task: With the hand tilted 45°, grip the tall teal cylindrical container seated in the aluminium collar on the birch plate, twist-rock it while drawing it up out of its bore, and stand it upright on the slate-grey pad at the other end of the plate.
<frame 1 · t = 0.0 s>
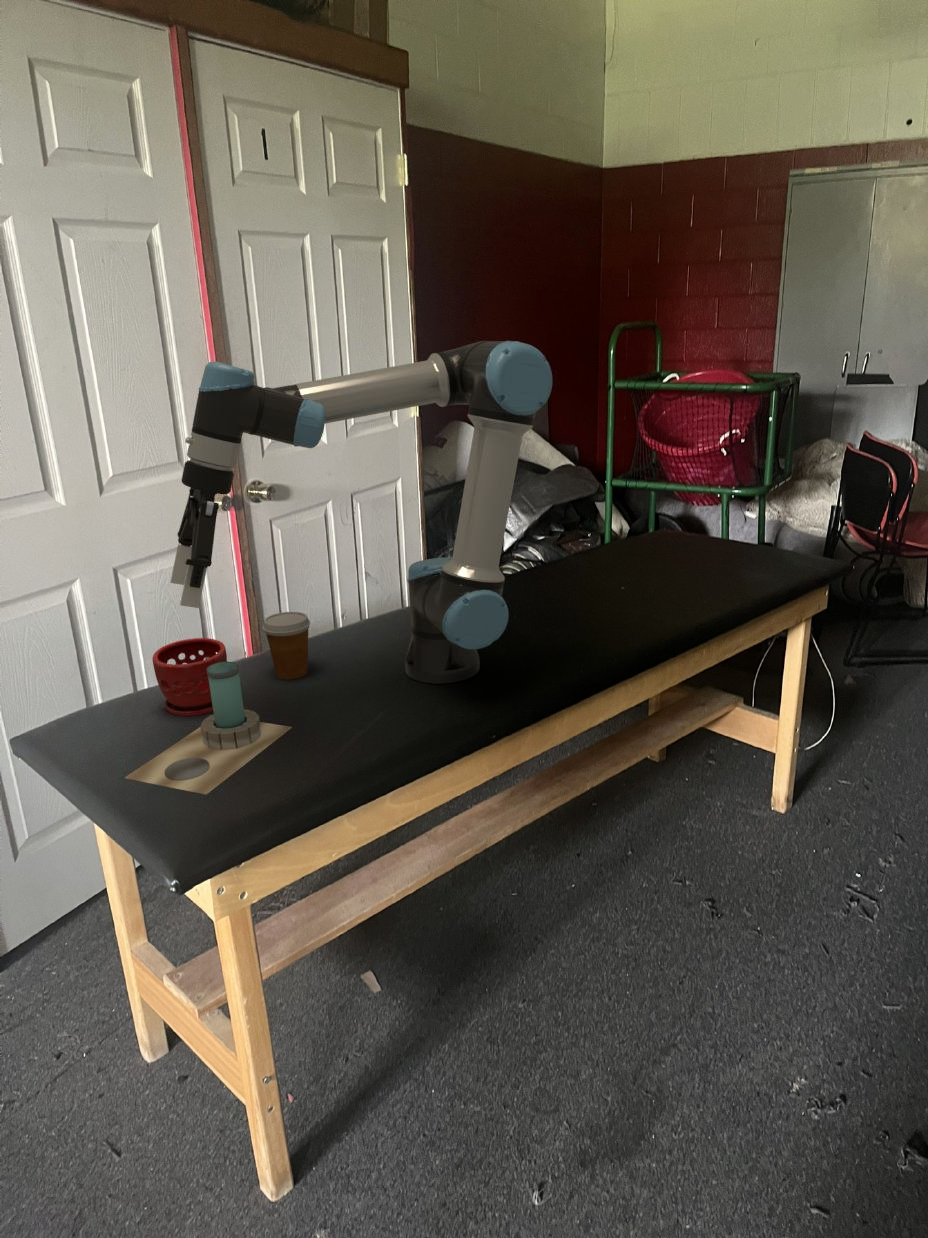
hand: (183, 594, 142), 28 cm above the table, tool tilted 20°, fingers open, 13 cm apart
plant pot: (198, 709, 167), on the table
disposable coffee cup: (292, 674, 181), on the table
teal cylindrical container: (232, 736, 153), point 1 cm above the table, touching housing
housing: (213, 756, 148), on the table
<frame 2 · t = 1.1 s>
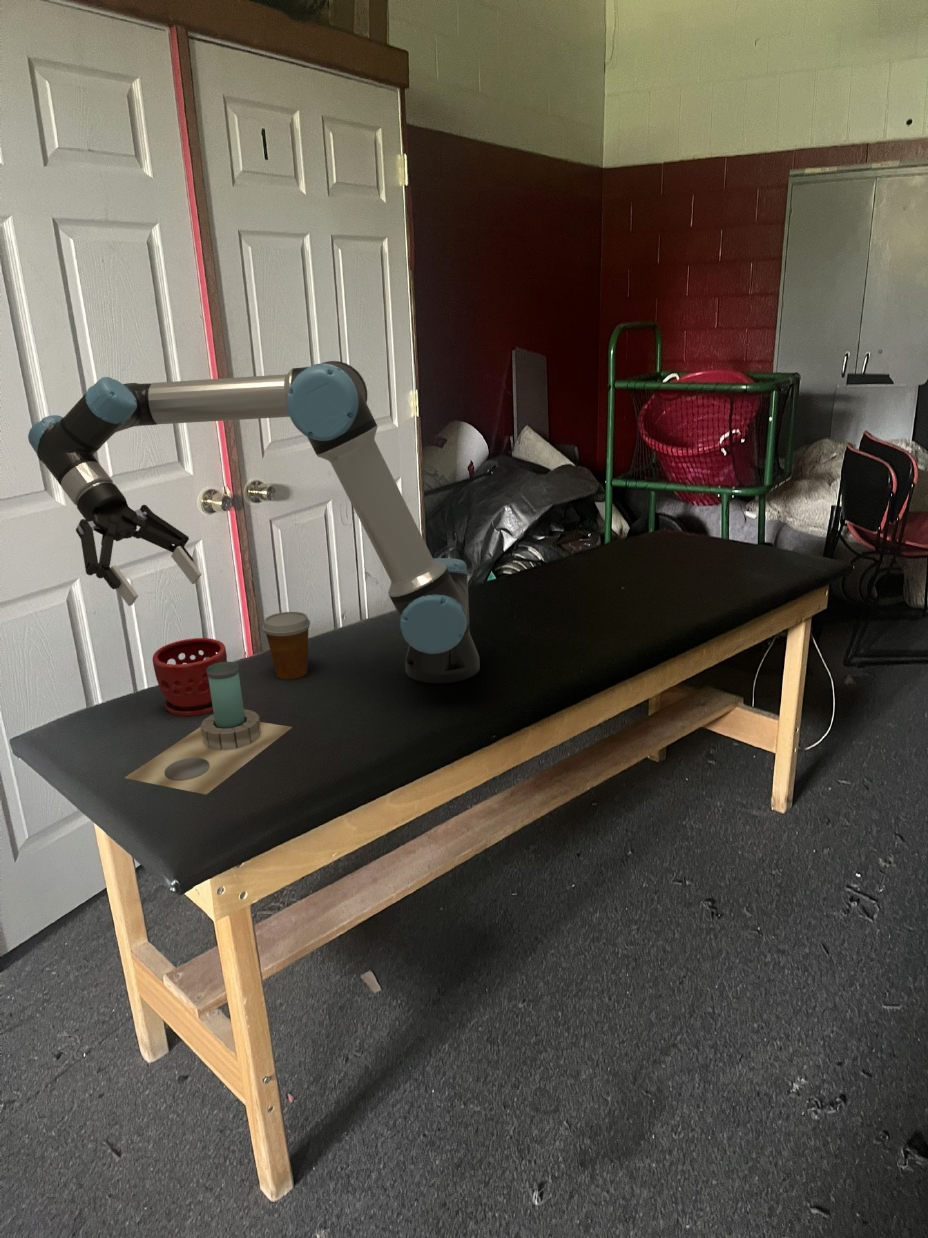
hand: (166, 589, 150), 26 cm above the table, tool tilted 45°, fingers open, 13 cm apart
nothing on the table moved.
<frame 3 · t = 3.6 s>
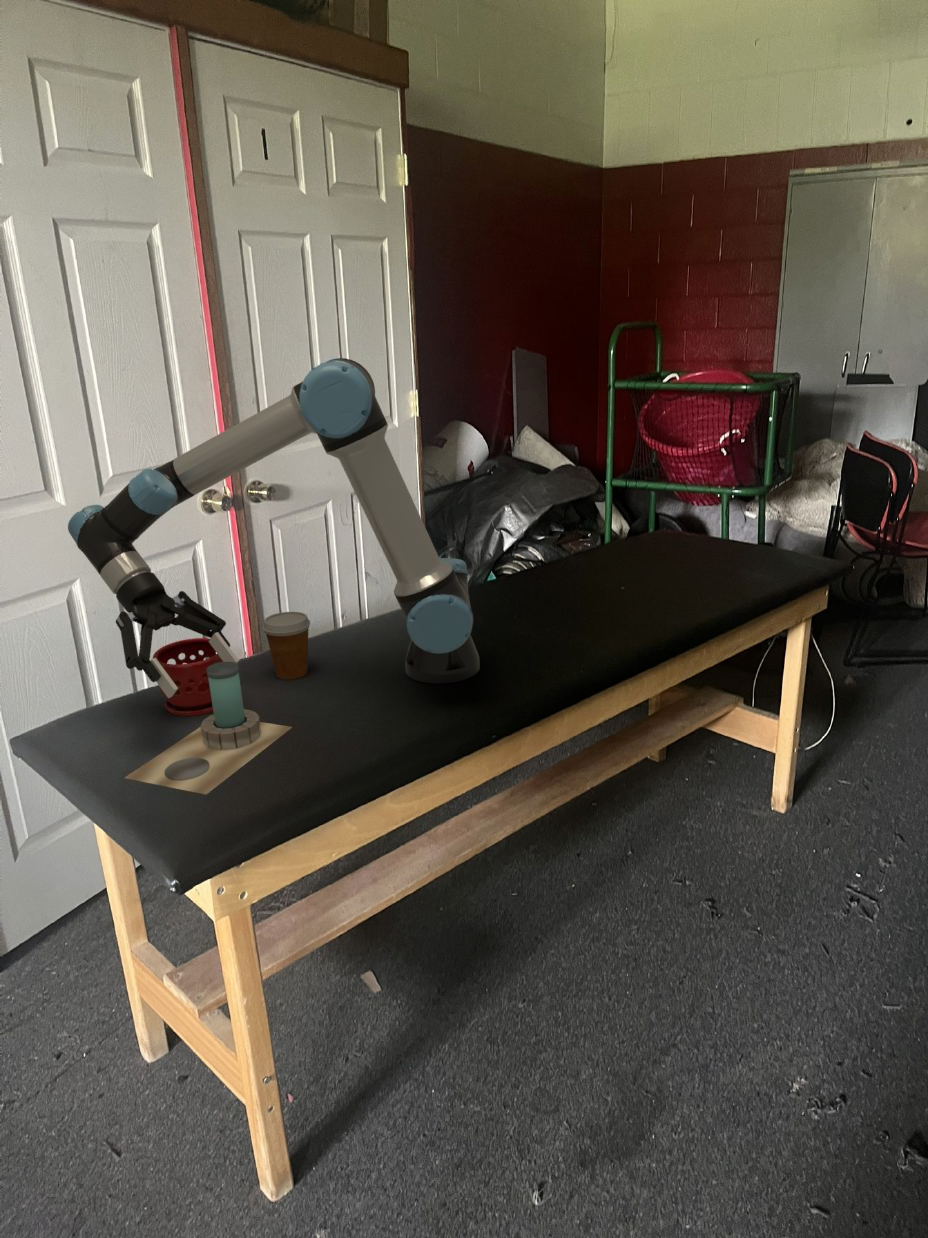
hand: (205, 679, 151), 11 cm above the table, tool tilted 45°, fingers open, 13 cm apart
nothing on the table moved.
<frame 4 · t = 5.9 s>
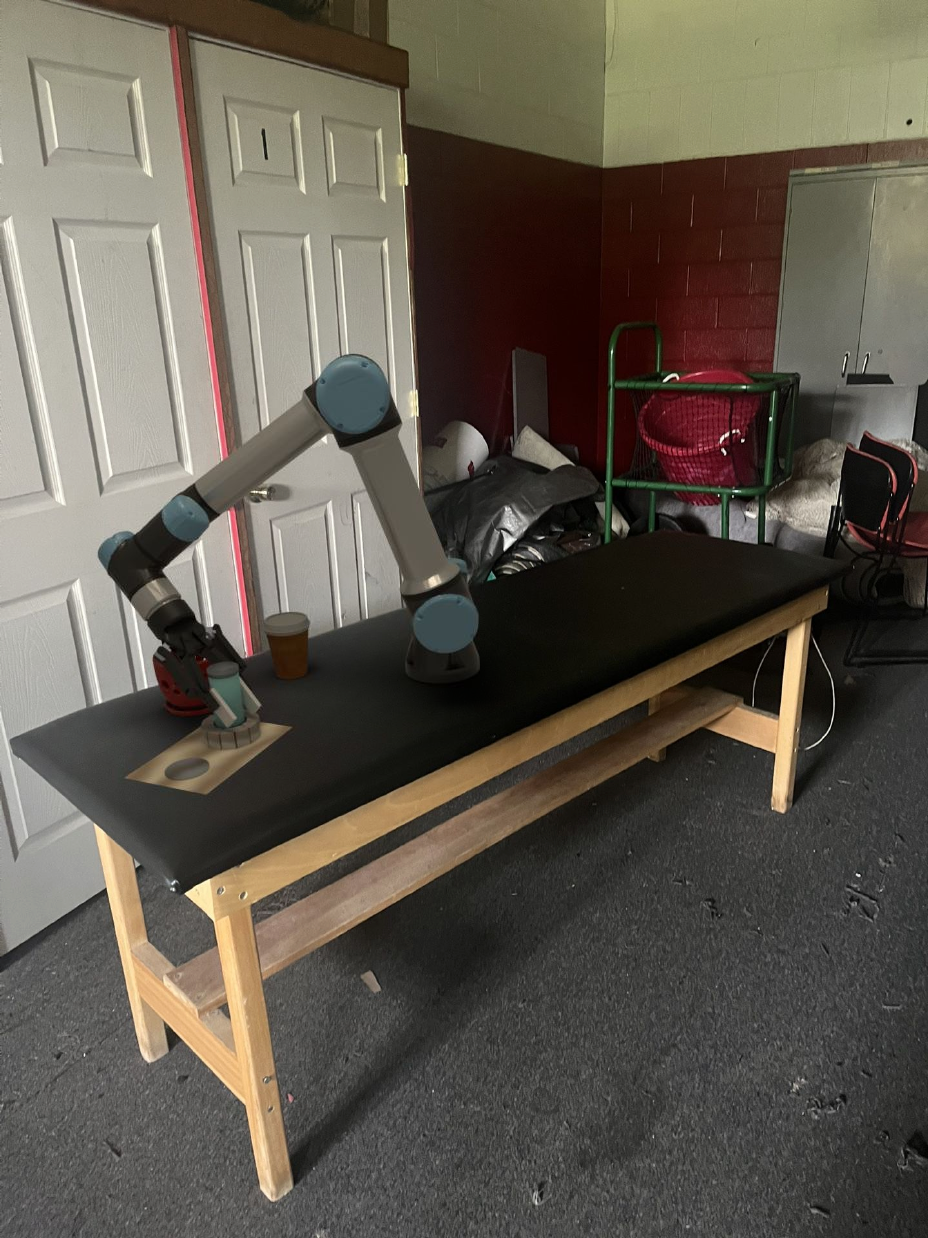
hand: (244, 716, 149), 6 cm above the table, tool tilted 45°, fingers closed on teal cylindrical container, 5 cm apart
teal cylindrical container: (232, 736, 153), point 1 cm above the table, touching gripper, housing
everything else where it was.
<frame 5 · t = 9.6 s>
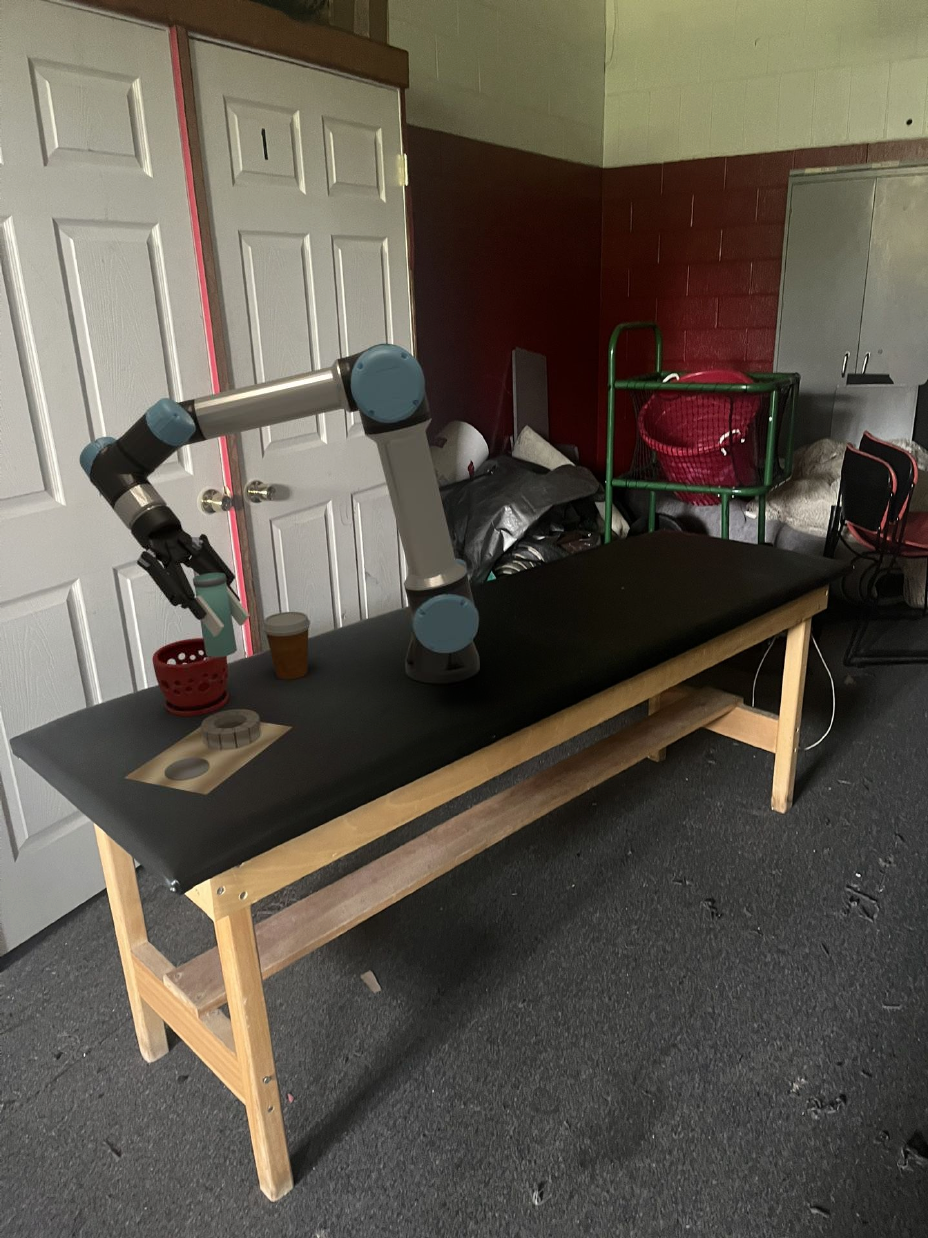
hand: (232, 625, 144), 22 cm above the table, tool tilted 45°, fingers closed on teal cylindrical container, 5 cm apart
teal cylindrical container: (221, 651, 147), point 17 cm above the table, touching gripper
everything else where it was.
when the fingers open (8 cm above the table, at t = 13.6 s): teal cylindrical container drops 1 cm, resting on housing.
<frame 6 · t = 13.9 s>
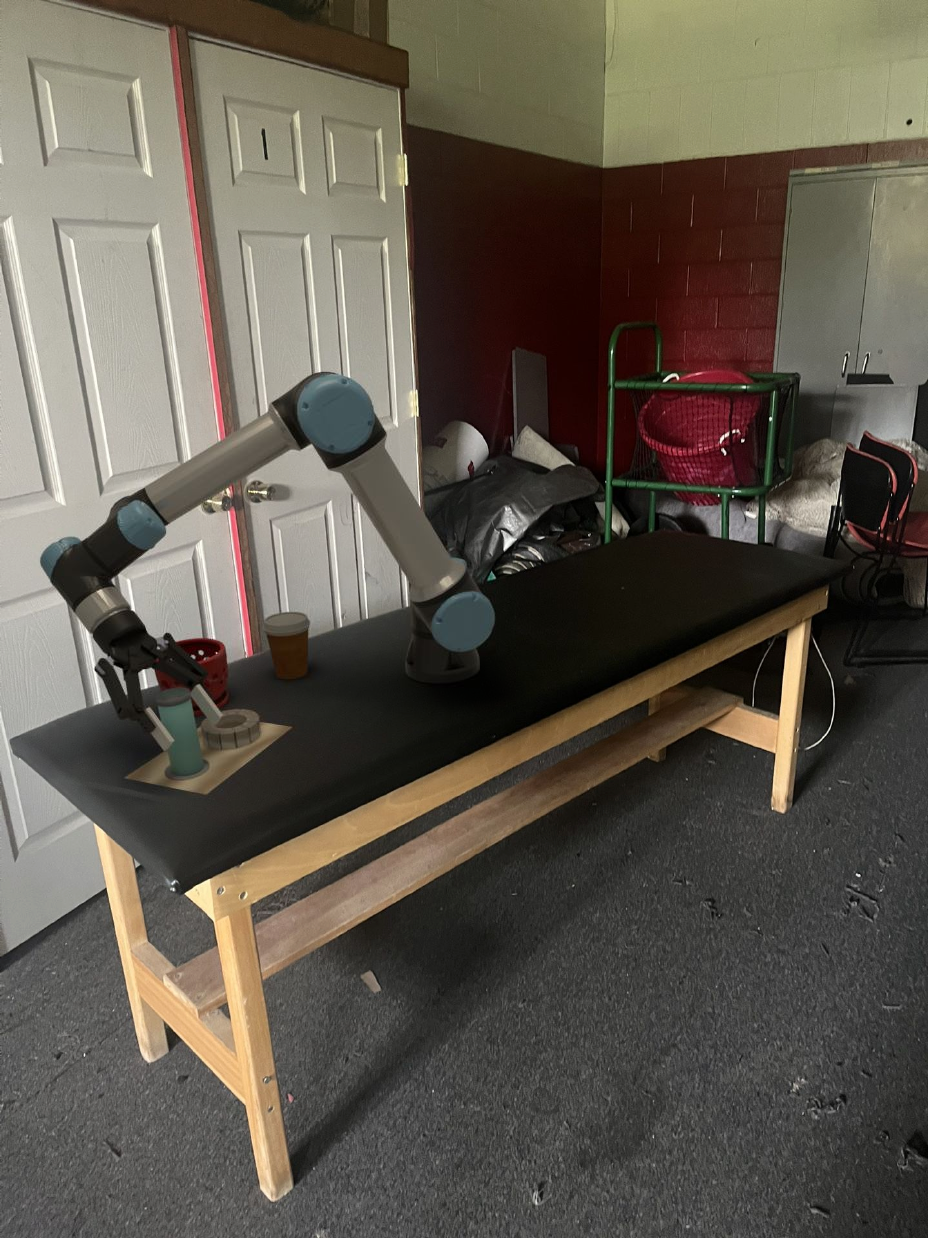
hand: (194, 732, 138), 8 cm above the table, tool tilted 45°, fingers open, 9 cm apart
teal cylindrical container: (188, 768, 142), point 1 cm above the table, touching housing
everything else where it was.
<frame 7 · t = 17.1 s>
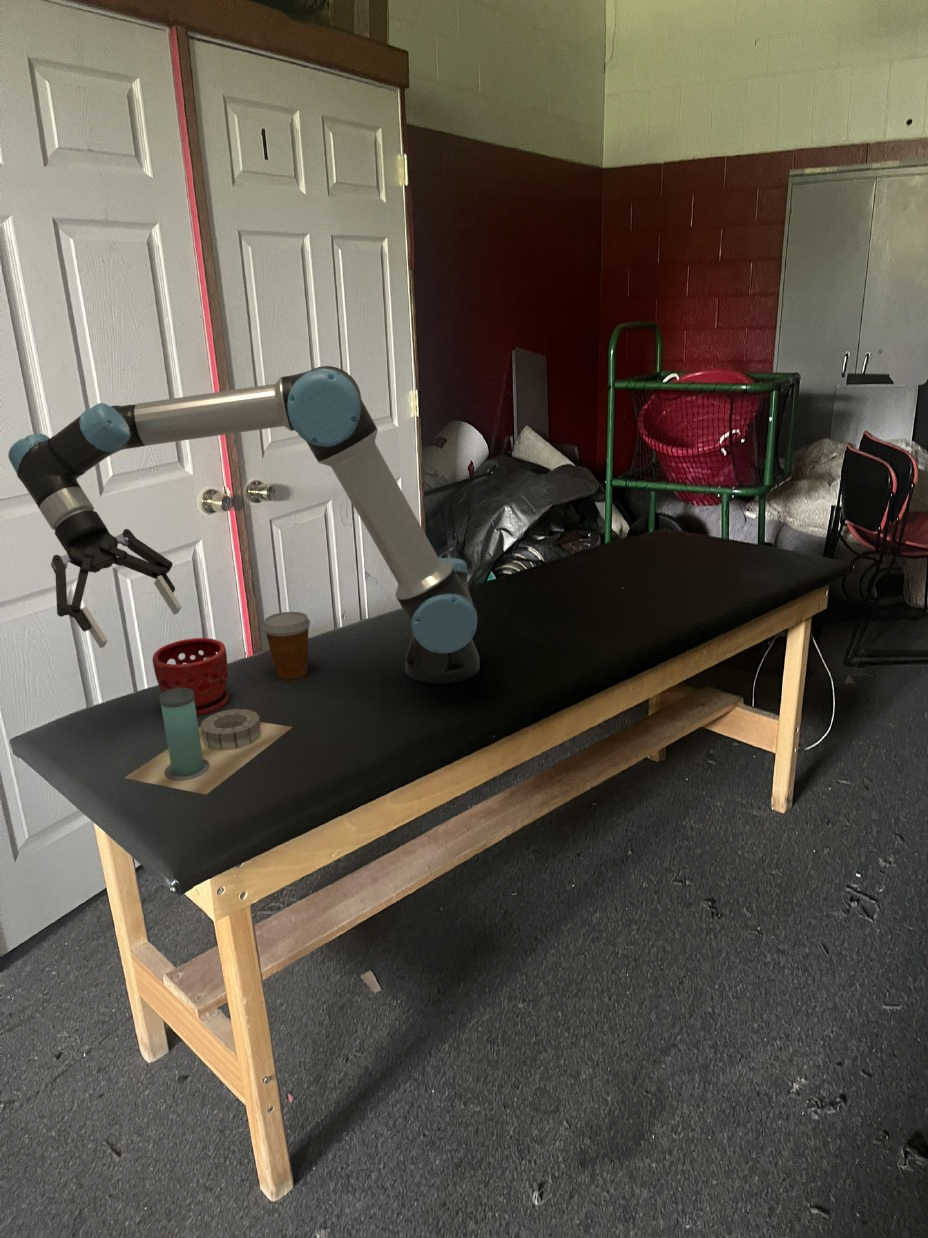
hand: (142, 627, 146), 22 cm above the table, tool tilted 40°, fingers open, 13 cm apart
nothing on the table moved.
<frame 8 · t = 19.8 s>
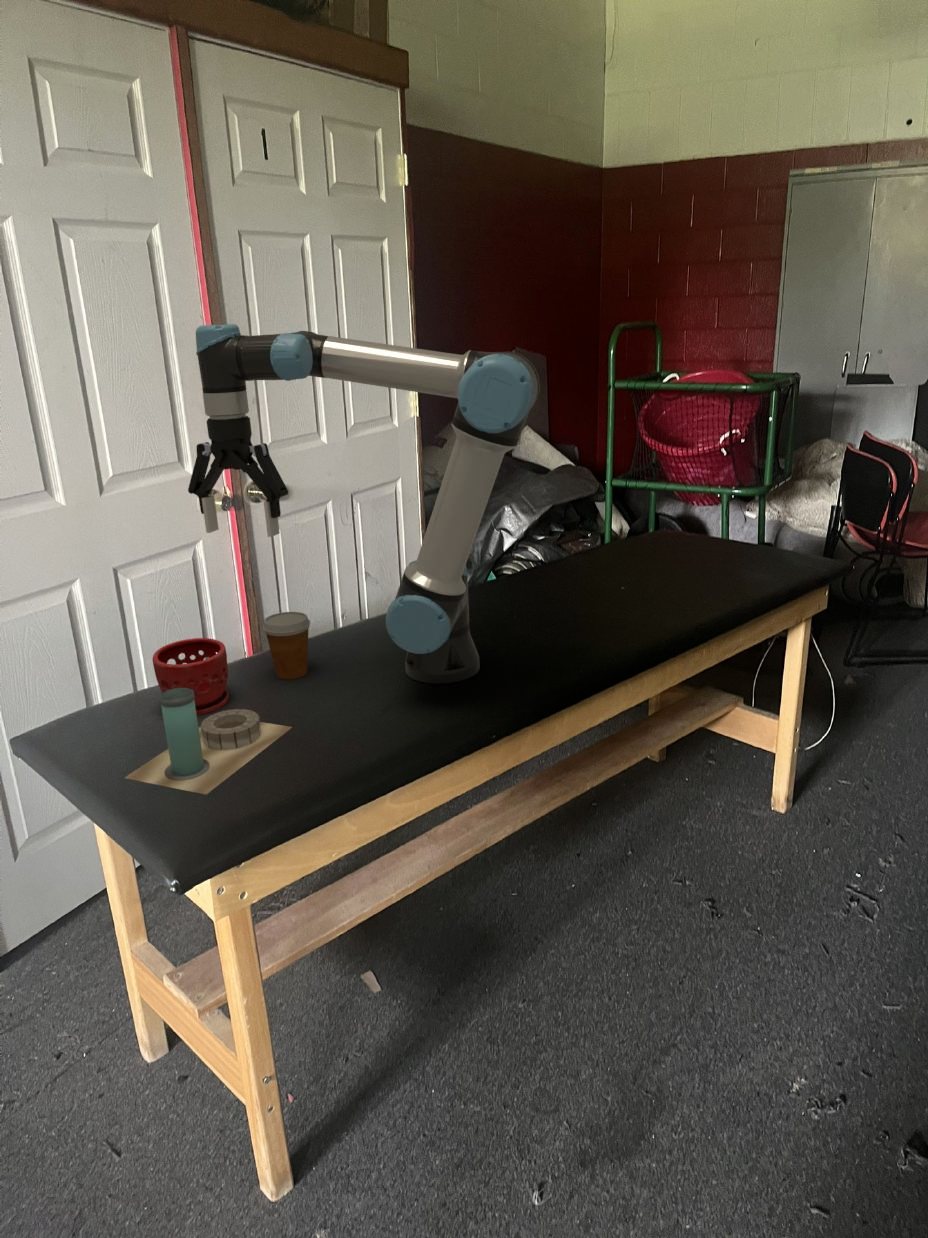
hand: (242, 533, 163), 32 cm above the table, tool pointing down, fingers open, 13 cm apart
nothing on the table moved.
at the end: teal cylindrical container inside the target area on the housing (0.2 cm from its centre), point 1.2 cm above the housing's base; teal cylindrical container tilted 0°; the gripper is holding nothing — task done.
